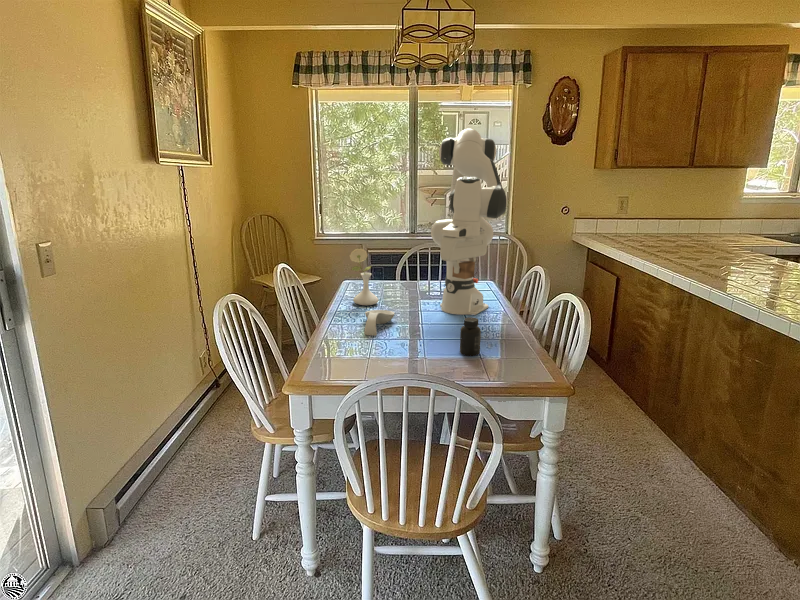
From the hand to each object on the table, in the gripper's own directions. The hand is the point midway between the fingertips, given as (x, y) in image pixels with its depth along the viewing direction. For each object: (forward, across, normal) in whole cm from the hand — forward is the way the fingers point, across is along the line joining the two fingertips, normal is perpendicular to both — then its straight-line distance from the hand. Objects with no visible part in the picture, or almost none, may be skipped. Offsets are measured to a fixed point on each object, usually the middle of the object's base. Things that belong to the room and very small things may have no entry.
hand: (463, 271), depth 164 cm
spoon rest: (+28, +2, -39) cm, 48 cm away
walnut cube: (+2, 0, 0) cm, 2 cm away
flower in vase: (+27, -16, -66) cm, 73 cm away
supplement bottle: (+28, -2, +3) cm, 28 cm away
